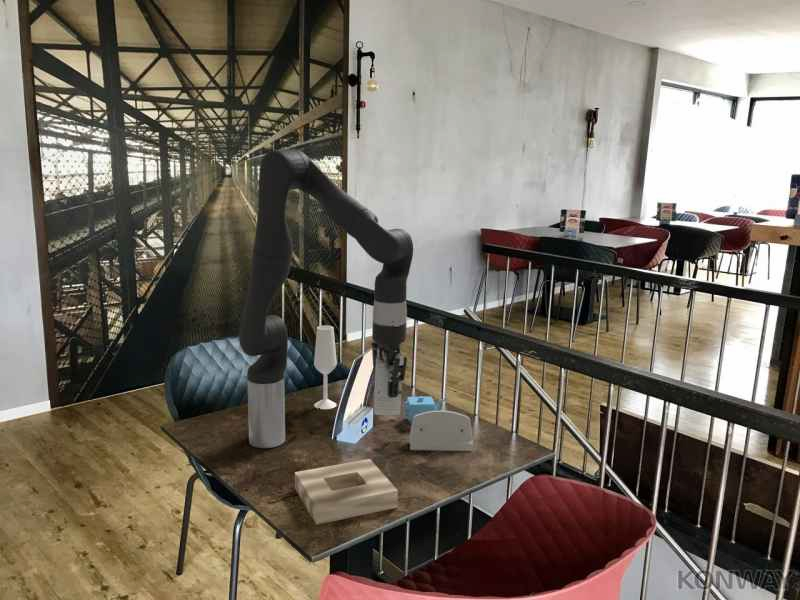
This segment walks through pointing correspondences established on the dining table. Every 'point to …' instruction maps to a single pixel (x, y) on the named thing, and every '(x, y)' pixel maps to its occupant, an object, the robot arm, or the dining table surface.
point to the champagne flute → (325, 360)
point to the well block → (345, 491)
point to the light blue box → (420, 406)
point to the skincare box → (385, 392)
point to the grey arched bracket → (441, 431)
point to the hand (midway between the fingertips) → (387, 392)
